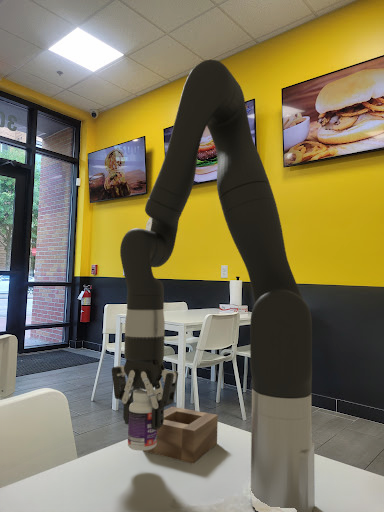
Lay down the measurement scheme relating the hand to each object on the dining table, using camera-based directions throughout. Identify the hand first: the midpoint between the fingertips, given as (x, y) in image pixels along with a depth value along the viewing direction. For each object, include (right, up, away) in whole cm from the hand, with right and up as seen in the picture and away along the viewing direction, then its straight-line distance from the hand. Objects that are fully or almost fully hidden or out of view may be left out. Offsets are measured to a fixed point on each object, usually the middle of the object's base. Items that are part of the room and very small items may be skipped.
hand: (142, 425), depth 69 cm
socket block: (+7, -9, +10) cm, 15 cm away
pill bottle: (0, -4, 0) cm, 4 cm away
